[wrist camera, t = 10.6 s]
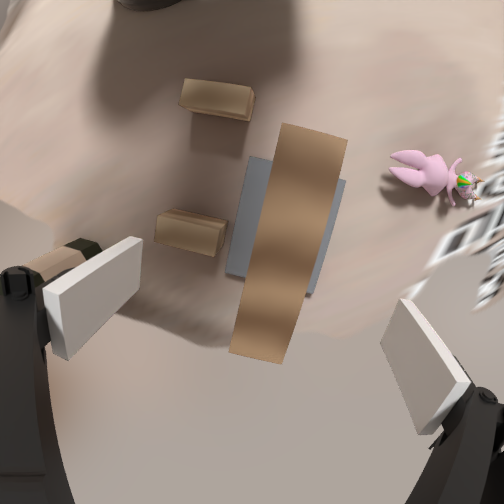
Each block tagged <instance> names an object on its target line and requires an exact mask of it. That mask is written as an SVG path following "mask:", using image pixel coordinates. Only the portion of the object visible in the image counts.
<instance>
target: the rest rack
mask: <svg viewBox="0 0 504 504" xmlns="http://www.w3.org/2000/svg"><path fill="white" fill-rule="evenodd" d="M255 98H256V97H255V95H254V92H253V90H252V88H251V87H248V86H242V85H235V84H229V83H222V82H214V81H206V80H196V79H186V78H185V81H184V84H183V88H182V92H181V96H180V100H179V104H178V105H180V106H182V107H184V108H185V109H187V110H189V111H191V112H195V113H202V114H209V115H215V116H222V117H228V118H233V119H239V120H244V121H249V122H250V119H251V115H252V111H253V107H254V103H255ZM227 224H228V221H226V220H222V219H218V218H213V217H209V216H205V215H200V214H196V213H192V212H187V211H183V210H178V209H174V208H173V209H171V210H169V211H166V212H164V213H162V214H160V215H157V222H156V229H155V237H154V242H157V243H160V244H164V245H168V246H172V247H176V248H180V249H184V250H188V251H192V252H196V253H200V254H204V255H208V256H212V257H215V255H216V254H217V253H218V251H219V250H220V248H221V247H222V246H223V243H224V238H225V233H226V229H227Z"/></svg>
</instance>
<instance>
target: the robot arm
mask: <svg viewBox="0 0 504 504" xmlns="http://www.w3.org/2000/svg"><path fill="white" fill-rule="evenodd" d="M117 1H119V2H120V3H121V4H122V5H123V6H125V7H127V8H129V9H132V10H137V11H149V10H156V9H160V8H164V7H167V6H170V5H172V4H175V3H177V2H179V1H181V0H117ZM142 248H143V239H140V238H136V237H132V236H129V237H127V238H126V239H124V240H122V241H120V242H118V243H117V244H115V245H113V246H111V247H110V248H108V249H106V250H104V251H103V252H101V253H99V254H98V255H96V256H94V257H92V258H91V259H89V260H87V261H86V262H84V263H82V264H81V265H79V266H77V267H73V268H70V269H66V270H64V271H62V272H60V273H59V274H57V276H56V275H55V276H54V277H52V278H51V280H50V279H49V280H47V281H46V282H44V283H42V284H41V285H39V286H38V287H36V288H35V286H34V276H33V271H32V270H31V269H30V268H28V267H25V266H14V267H10V268H7V269H5V270H4V271H2V273H1V274H0V278H1V284H2V291H3V295H0V504H75V502H74V499H73V496H72V493H71V490H70V487H69V484H68V480H67V476H66V473H65V470H64V466H63V462H62V458H61V454H60V449H59V445H58V440H57V435H56V430H55V425H54V419H53V413H52V407H51V399H50V391H49V383H48V373H47V359H46V351H45V346H46V345H47V343H49V342H50V341H51V346H52V351H53V354H55V355H57V356H59V357H61V358H63V359H65V360H67V361H69V360H70V359H71V358H72V357H73V355H75V354H76V352H77V351H78V350H79V349H80V348H81V347H82V346H83V345H84V344H85V343H86V342H87V341H88V340H89V339H90V338H91V337H92V336H93V335H94V334H95V333H96V332H97V331H98V330H99V329H100V328H101V327H102V326H103V325H104V324H105V323H106V322H107V320H108V319H109V318H110V317H111V316H112V315H113V314H114V313H115V312H116V311H117V310H119V309H120V308H121V307H122V306H123V305H124V304H125V303H126V302H127V301H128V300H129V299H130V298H131V297H132V296H133V295H134V294H135V293H136V292H137V291H138V290H139V289H140V275H141V260H142ZM380 344H381V347H382V349H383V351H384V353H385V355H386V358H387V360H388V362H389V364H390V367H391V369H392V371H393V374H394V376H395V378H396V381H397V383H398V386H399V388H400V390H401V392H402V395H403V398H404V400H405V403H406V405H407V408H408V410H409V413H410V415H411V418H412V420H413V423H414V426H415V428H416V431H417V434H418V435H428V434H433V433H434V432H435V431H436V430H437V428H438V427H439V426H440V425H441V424H442V426H443V428H444V431H443V432H442V433H441V435H440V436H439V437H438V438H437V439H436V440H435V441H434V443H433V444H432V445H431V446H430V447H429V449H431V448H432V447H434V449H433V451H432V453H431V456H430V457H429V460H428V462H427V464H426V466H425V468H424V470H423V472H422V474H421V476H420V478H419V480H418V481H417V483H416V485H415V487H414V489H413V491H412V492H411V494H410V496H409V498H408V499H407V501H406V503H405V504H504V451H503V452H501V448H502V446H503V445H504V404H500V403H498V399H497V397H496V396H495V395H494V394H493V393H492V392H491V391H490V390H488V389H486V388H483V387H477V388H476V386H475V385H474V383H473V382H472V380H471V379H470V377H469V376H468V374H467V373H466V371H464V368H463V367H462V366H461V365H460V363H459V361H458V360H457V358H456V357H455V356H454V355H453V354H452V353H451V352H450V351H449V349H448V348H447V347H446V345H445V344H444V343H443V341H442V340H441V338H440V337H439V336H438V334H437V333H436V332H435V330H434V329H433V328H432V326H431V325H430V324H429V322H428V321H427V320H426V319H425V317H424V316H423V315H422V313H421V312H420V311H419V310H418V309H417V307H416V306H415V305H414V303H413V302H412V301H410V300H406V299H401V298H399V301H398V303H397V306H396V308H395V310H394V313H393V315H392V317H391V320H390V322H389V324H388V326H387V329H386V331H385V333H384V335H383V337H382V339H381V342H380Z"/></svg>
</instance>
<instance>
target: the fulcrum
mask: <svg viewBox="0 0 504 504" xmlns="http://www.w3.org/2000/svg"><path fill="white" fill-rule="evenodd" d="M272 164H273V161H269V160H265V159H260V158H256V157H251V156H250V157H249V162H248V166H247V171H246V175H245V180H244V184H243V189H242V193H241V198H240V202H239V207H238V212H237V216H236V221H235V226H234V230H233V235H232V240H231V245H230V249H229V254H228V259H227V264H226V269H225V273H228V274H232V275H236V276H240V277H244V278H246V275H247V271H248V267H249V262H250V258H251V254H252V249H253V245H254V241H255V237H256V232H257V228H258V224H259V219H260V215H261V211H262V207H263V202H264V198H265V194H266V189H267V185H268V181H269V177H270V172H271V168H272ZM345 183H346V180H342V179H338V183H337V187H336V191H335V194H334V198H333V202H332V206H331V209H330V213H329V217H328V220H327V224H326V228H325V231H324V235H323V238H322V242H321V245H320V249H319V252H318V255H317V259H316V262H315V265H314V269H313V272H312V275H311V278H310V282H309V285H308V288H307V291H306V292H307V293H311V294H313V293H314V290H315V286H316V283H317V280H318V277H319V274H320V271H321V268H322V264H323V261H324V258H325V255H326V251H327V248H328V244H329V241H330V238H331V234H332V231H333V227H334V224H335V220H336V217H337V213H338V209H339V206H340V202H341V198H342V194H343V191H344V187H345Z"/></svg>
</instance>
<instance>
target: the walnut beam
mask: <svg viewBox="0 0 504 504" xmlns="http://www.w3.org/2000/svg"><path fill="white" fill-rule="evenodd" d="M347 141H348V140H346V139H343V138H339V137H336V136H332V135H329V134H325V133H322V132H318V131H314V130H310V129H307V128H303V127H299V126H295V125H290V124H286V123H282V125H281V129H280V134H279V138H278V142H277V147H276V151H275V155H274V159H273V164H272V168H271V172H270V177H269V181H268V185H267V189H266V194H265V198H264V202H263V207H262V211H261V215H260V219H259V224H258V228H257V232H256V237H255V241H254V245H253V249H252V254H251V258H250V262H249V267H248V271H247V275H246V279H245V284H244V288H243V292H242V297H241V301H240V305H239V309H238V314H237V318H236V322H235V327H234V331H233V335H232V340H231V344H230V348H229V352H230V353H233V354H237V355H241V356H246V357H250V358H254V359H259V360H263V361H268V362H272V363H277V364H282V362H283V359H284V356H285V353H286V350H287V348H288V345H289V342H290V339H291V336H292V333H293V330H294V328H295V325H296V322H297V319H298V316H299V313H300V310H301V307H302V304H303V300H304V297H305V294H306V291H307V288H308V285H309V282H310V278H311V275H312V272H313V269H314V265H315V262H316V259H317V255H318V252H319V249H320V245H321V242H322V238H323V235H324V231H325V228H326V224H327V220H328V217H329V213H330V209H331V206H332V202H333V198H334V194H335V191H336V187H337V183H338V179H339V175H340V171H341V167H342V163H343V158H344V154H345V150H346V146H347Z"/></svg>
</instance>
